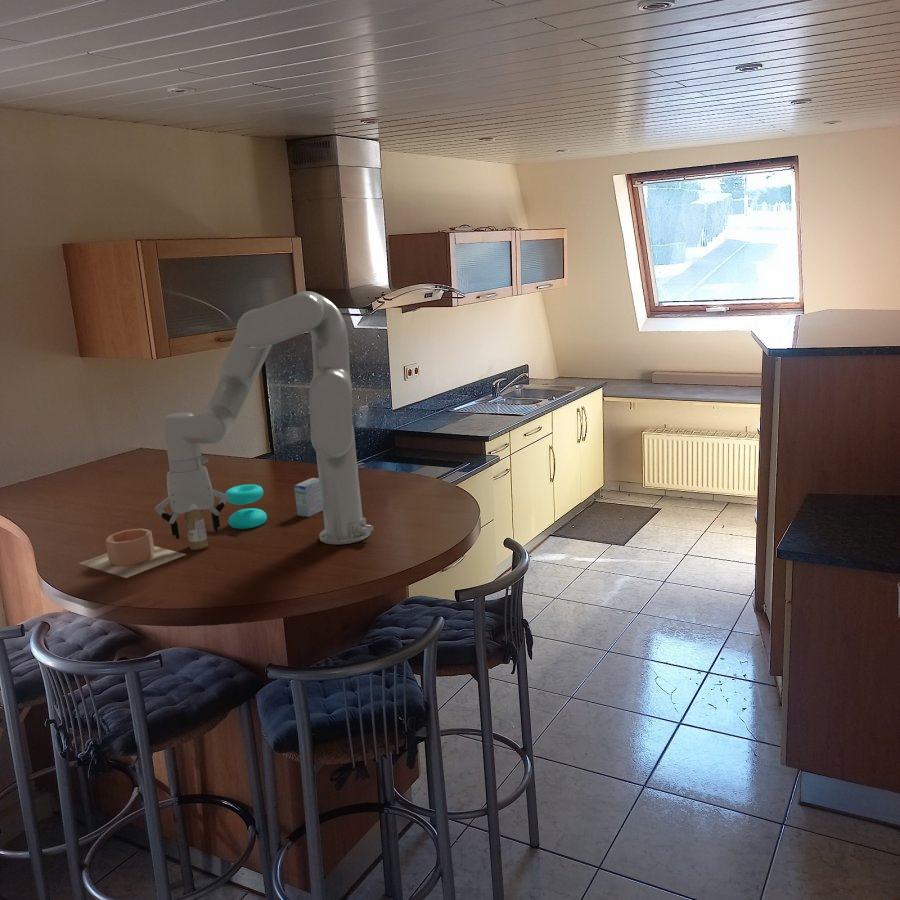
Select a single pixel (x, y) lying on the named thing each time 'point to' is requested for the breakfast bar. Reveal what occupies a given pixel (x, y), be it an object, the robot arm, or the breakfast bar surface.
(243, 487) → the donuts
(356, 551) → the breakfast bar surface
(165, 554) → the birch board
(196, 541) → the spice jar
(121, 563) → the terracotta octagonal bowl
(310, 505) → the medicine box
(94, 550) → the breakfast bar surface
